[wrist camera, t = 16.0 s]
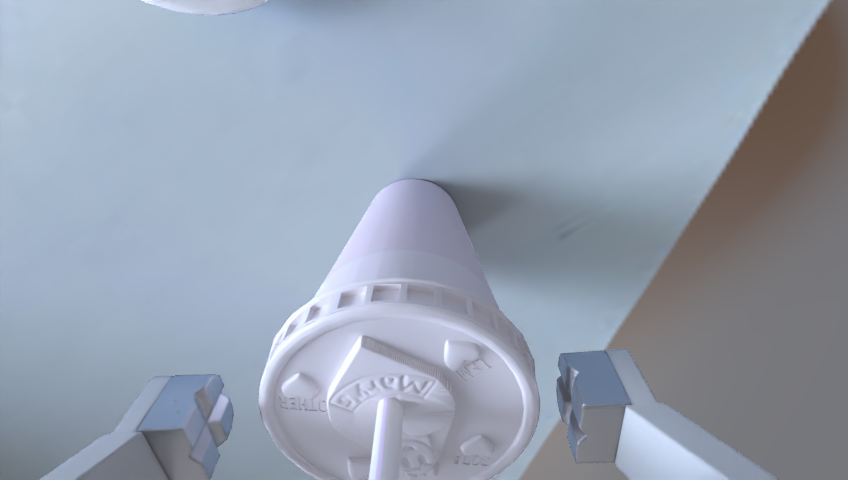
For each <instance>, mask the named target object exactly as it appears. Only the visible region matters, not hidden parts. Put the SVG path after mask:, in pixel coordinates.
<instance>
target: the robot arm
mask: <svg viewBox="0 0 848 480" xmlns="http://www.w3.org/2000/svg"><path fill="white" fill-rule="evenodd" d="M558 367H559V370H560V373H561V376H560V377H559V378H558V379H557V388H556V392H557V403H558V407H559V412H560V415H561V418H562V421H563V422H564V423H566V424H567V425H568V441H569V444H570V447H571V450H572V453H573V456H574V459H575V462H576V463H615V465H616V466H617V467H618V468H619V469H620V470H621V471H622V472H623V473H624V474H625V475H626V476H627V477H628V478H629V479H630V480H778V478H777V477H775V476H773V475H772V474H771V473H769V472H768V471H766V470H765V469H763V468H762V467H760V466H759V465H757V464H756V463H754V462H753V461H751V460H750V459H748V458H747V457H745V456H744V455H742V454H741V453H739V452H738V451H736V450H735V449H733V448H732V447H730V446H729V445H727V444H726V443H724V442H723V441H721V440H720V439H718V438H717V437H715V436H714V435H712V434H711V433H709V432H708V431H706V430H705V429H703V428H702V427H700V426H699V425H697V424H696V423H694V422H693V421H691V420H690V419H688V418H687V417H685V416H684V415H682V414H681V413H679V412H678V411H676V410H675V409H673V408H672V407H670V406H669V405H667V404H666V403H658V402H657V400H656V398H655V396H654V394H653V393H652V391H651V389H650V387H649V385H648V384H647V382H646V380H645V378H644V377H643V375H642V373H641V371H640V370H639V368H638V366H637V364H636V362H635V361H634V359H633V357H632V355H631V354H630V352H629V351H628V350H626V349H616V350H604V351H588V352H574V353H560V356H559V361H558ZM223 387H224V383H223V381H222V379H221V377H220V375H216V374H204V375H175V376H157V377H154V378H152V379H151V380H149V381H148V382H147V384H146V385H145V387H144V388H143V390H142V391H141V393H140V394H139V395H138V397H137V398H136V400H135V401H134V403H133V404H132V405H131V407H130V408H129V410H128V411H127V413H126V414H125V416H124V417H123V418H122V420H121V421H120V423H119V424H118V426H117V427H116V428H115V430H114V431H113V433H109V434H105V435H103V436H102V437H100V438H99V439H97V440H96V441H94V442H93V443H92V444H90V445H89V446H87V447H86V448H84V449H83V450H81V451H80V452H78V453H77V454H76V455H74V456H73V457H71V458H70V459H68V460H67V461H65V462H64V463H63V464H61V465H60V466H58V467H57V468H55V469H54V470H52V471H51V472H49V473H48V474H47V475H45V476H44V477H42V478H41V479H39V480H210V478H211V476H212V473H213V471H214V469H215V466H216V464H217V462H218V459H219V457H220V453H219V450H218V448H217V447H218V446H219V445H221V444H222V443H223V442H224V441H225V440H226V439H228V436H229V434H230V431H231V429H232V423H233V416H234V414H233V406H232V403H231V401H230V398H228V397H227V396H226V395H224V394H223V393H221V391H222V389H223Z"/></svg>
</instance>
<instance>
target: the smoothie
mask: <svg viewBox="0 0 848 480" xmlns="http://www.w3.org/2000/svg"><path fill="white" fill-rule="evenodd" d="M258 402H259V409H260V414H261V418H262V421H263V424H264V426H265V428H266V430H267V432H268V434H269V436H270V437H271V439H272V440H273V442H274V443H275V444H276V446H277V447H278V448H279V449H280V450H281V451H282V453H283V454H284V455H285V456H286V457H287V458H288V459H289V460H291V461H292V462H293V463H294V464H295V465H297V466H298V467H299V468H300V469H302V470H303V471H304V472H306V473H308V474H310V475H311V476H313V477H315V478H317V479H318V480H488V479H490V478H492V477H494V476H496V475H497V474H499V473H500V472H501V471H503V470H504V469H505V468H507V467H508V466H509V465H510V464H511V463H512V462H514V461H515V460H516V459H517V457H518V456H519V455H520V454H521V453H522V452H523V451H524V449H525V448H526V447H527V445H528V444H529V442H530V440H531V438H532V437H533V434H534V432H535V430H536V427H537V423H538V419H539V413H540V397H539V391H538V386H537V383H536V380H535V365H534V359H533V357H532V355H531V353H530V350H529V348H528V346H527V343H526V341H525V339H524V337H523V335H522V333H521V332H520V331H519V330H518V329H517V328H516V327H515V326H514V325H513V324H512V322H511V321H510V320H509V319H508V318H507V317H506V316H505V315H504V314H503V312H502V311H500V310H499V307H498V305H497V302H496V300H495V298H494V296H493V294H492V292H491V289H490V287H489V284H488V282H487V280H486V277H485V275H484V272H483V270H482V267H481V265H480V263H479V260H478V258H477V255H476V253H475V251H474V248H473V246H472V243H471V241H470V239H469V236H468V234H467V231H466V229H465V227H464V224H463V222H462V219H461V217H460V215H459V212H458V210H457V207H456V205H455V203H454V201H453V200H452V198H451V197H450V196H449V195H448V193H447V192H445V191H444V190H443V189H442V188H440V187H439V186H437V185H435V184H433V183H431V182H428V181H424V180H419V179H406V180H401V181H397V182H394V183H392V184H390V185H388V186H386V187H385V188H384V189H382V190H381V191H380V192H379V193H378V194H377V195H376V197H375V198H374V199H373V201H372V203H371V204H370V206H369V208H368V209H367V211H366V213H365V214H364V216H363V218H362V219H361V221H360V223H359V224H358V226H357V228H356V229H355V231H354V233H353V234H352V236H351V238H350V239H349V241H348V243H347V244H346V246H345V248H344V249H343V251H342V253H341V254H340V256H339V258H338V259H337V261H336V263H335V264H334V266H333V268H332V269H331V271H330V273H329V274H328V276H327V278H326V279H325V281H324V283H323V284H322V286H321V287H320V288H319V290H318V292H317V293H316V295H315V297H314V298H313V299H312V300H311V301H309V302H308V303H307V304H305V305H304V306H302V307H301V308H300V309H298V310H297V311H295V312H294V313H293V314H292V315H291V316H290V318H289V319H288V320H287V322H286V323H285V324H284V326H283V327H282V328H281V330H280V331H279V332H278V334H277V335H276V336H275V338H274V341H273V344H272V348H271V351H270V354H269V358H268V361H267V364H266V366H265V369H264V371H263V373H262V377H261V380H260V384H259V392H258Z"/></svg>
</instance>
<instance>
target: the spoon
mask: <svg viewBox="0 0 848 480" xmlns="http://www.w3.org/2000/svg"><path fill="white" fill-rule="evenodd" d="M142 1H144V2H147V3H150V4H153V5H156V6H159V7H162V8H165V9H170V10H174V11H178V12H182V13H188V14H196V15H226V14H234V13H238V12H242V11H246V10H249V9H252V8H254V7H256V6H259V5H261V4H263V3H265V2H267V1H268V0H142Z"/></svg>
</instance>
